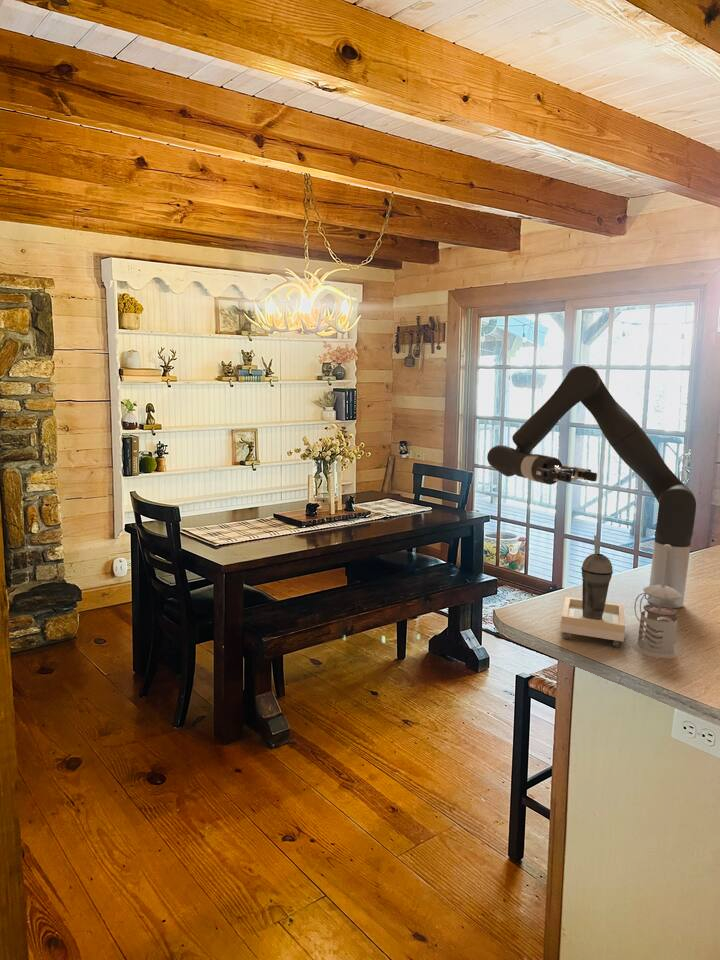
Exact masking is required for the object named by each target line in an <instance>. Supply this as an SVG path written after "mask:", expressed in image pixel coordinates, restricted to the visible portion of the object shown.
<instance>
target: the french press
mask: <svg viewBox="0 0 720 960" xmlns="http://www.w3.org/2000/svg"><path fill="white" fill-rule="evenodd" d="M663 549H664V550H667V551H668V550H672V547H671V546H670V545H668V544H665V545H664V546H663ZM667 551H666V559H665V568H666V560H667ZM665 568H664V576H663V585H651V586H649V585H648V586H646V587H644V588H643V589H642V591H643V592H642V593H640V594H639V595H637V597H636V598H635V602H634V607H633V608H634V614H635V617H636V619H637V620H638V622H639V629H638V630H639V631H638V637H637V638H638V639H637V641H636V642H634V643H633V645H632V647H633V650H635V651H636V652H638V653H640V654H642V655H645V656H648V657H652V658H657V659H673V658H674V659H675V658H677V657H678V656H679V652H678V651H677V650H676V649H675V644H676V641H675V640H676V635H677V628H678V622H679V621H678V620H679V618H678V617H677V616H676V615H677V614H678V612H677V610H676V609H675V608H670V607H666V606H663V605H662V606H661V602H662V599H665V600H677V599H680V597H681V596H682V595H681V594H680V593H679V592H677V591H676V590H675V589H673V588H671V587H668V586H665V585H664V577H665ZM648 595H649V596H650V598H651V596H652V597H655V598H659V599H661V601H660V605H655V604H652V603H649V604H644V606H642V601H643V599H645V600H647V601H648V599H650V598H648V597H647V596H648ZM640 596H642V597H641V598H640V600H639V601H640V603H639V610H640V611H639V612H640V618H639V617H638V615H637V611H636V606H637V601H638V599H639V597H640ZM642 608H643V611H642ZM646 612H647V615H646ZM661 617H662V618H668V619H670V620H671V621H670V620H668V619H658V618H661ZM644 629H645V630H644Z"/></svg>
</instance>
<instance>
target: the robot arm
mask: <svg viewBox="0 0 720 960" xmlns="http://www.w3.org/2000/svg"><path fill="white" fill-rule="evenodd" d="M579 403H581V404H582V405H583V406H584V407H585V408H586V409H587V410H588V412H590V414H591V415H592V417H593V419H595V421H596V423H597V425H598V427H599V428H600V431H601V432H602V434H603V436H604V438H605V439H606V440H607V442H608V444H609V445H610V446H611V447H612V449H613V450H614V451H615V453H616V454H617V455H618V456H619V458H620V459H621V460H622V461H623V462H624V463H625V464H626V465H627V466H628V467H629V468H630V469H631V470H632V471H633V472H634V473H635V474H637V476H639V477H640V478H641V479H642V480H643V482H644V483H645V484H646V485H647V487H648V488H649V489H650V492H652V494H653V496H654V498H655V500H656V501H657V503H658V508H657V518H656V526H655V532H654V542H653V551H652V560H651V567H650V568H651V570H650V577H649V585H648V586H651V585H663V576H664V568H665V559H666V551H667V550H664V549H663V546H664V545H665V544H668V545H670V546H671V547H672V550H668V551H667V560H666V568H665V577H664V585H665V586H668V587H671V588H673V589H675V590H676V591H677V592H679V593H680V594H681V595H682V596H681V597H680V599H677V600H665V599H662V602H661V606H662V605H663V606H666V607H670V608H672V609H678V608H682V607H684V602H685V595H686V594H685V593H686V587H687V586H686V585H687V578H688V569H689V561H690V552H691V545H692V538H693V534H694V526H695V519H696V512H697V511H696V510H697V499H696V496H695V495H694V493H693V491H692V490H691V489H690V488H689V487H687V485H686V484H684V482H682V481H681V480H680V478H678V476H677V475H676V474H674V472H673V471H672V470H671V469H670V468H669V466H668V465H667V464H666V463H665V461H664V459H663V457H662V455H661V453H660V452H659V451H658V449H657V447H656V446H655V444H654V443H653V442H652V440H651V438H649V436H648V434H646V432H645V431H644V429H643V428H642V427H641V426H640V425H639V423H638V422H637V421H636V420H635V419H634V418H633V417H632V416H631V414H629V412H627V411H626V410H625V409H624V408H623V407H622V406H621V405H620V403H618V402H617V401H616V399H615V398H614V397H613V396H612V394H611V393H610V391H609V390H608V388H607V387H606V385H605V383H604V382H603V380H602V379H601V376H600V374H599V373H598V371H597V370H596V369H595V368H594V367H593V366H590V365H586V364H578V365H575V366H574V367H572V368H571V369H569V370H568V372H567V373H566V376H565V377H564V378H563V380H562V382H561V383H560V385H559V386H558V387H557V389H556V390H555V391H554V392H553V394H552V395H551V396H550V397H549V398H548V399H547V401H546V402H544V403H543V405H542V406H541V407H539V409H537V411H535V412H534V413H533V415H531V416H530V417H529V418H528V419H527V420H526V421H525V422H524V423H523V424H522V425H521V426H520V427H519V428H518V429H517V430H516V431H515V433H514V434H513V435H512V438H511V439H512V442H513V443H514V444H515V446H516V448H513V447H510V446H507V445H503V444H499V445H495V446H493V447H491V448H490V449H489V451H488V452H487V455H486V456H487V457H486V460H487V462H488V464H489V466H491V467H492V468H493V469H495V470H496V471H497V472H499V473H500V474H502V475H503V476H505V477H507V478H508V477H513V476H517V477H520V478H524V479H528V480H531V481H532V482H536V483H540V484H545V485H550V486H551V485H554V484H556V483H557V482H559V481H561V482H564V483H571V482H572V481H578V480H583V481H590V482H597V479H598V473H597V472H593V471H592V469H591V468H582V467H577V466H569V465H566V464H562V462H561V460H560V459H558V458H557V457H554V456H549V455H543V454H540V453H539V454H538V453H535V454H534V453H533V454H532V451H533V450H534V448H536V447H537V446H538V444H540V443H541V442H542V441H543V439H545V438H546V437H547V435H548V434H549V433H551V431H552V430H553V428H554V427H555V426H556V425H557V423H558V422H559V421H560V420H561V419H562V418H563V417H564V416H565V415H566V414H567V413H568V412H569V411H570V410H571V409H573V407H575V406H576V405H577V404H579ZM647 598H650V596H649V595H647ZM660 601H661V599H659V598H655V597H652V596H651V598H650V599H647V602H649V604H654V605H660Z"/></svg>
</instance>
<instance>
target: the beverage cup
mask: <svg viewBox="0 0 720 960" xmlns="http://www.w3.org/2000/svg"><path fill="white" fill-rule="evenodd" d="M593 540H594V542H593V543H594V544H593V545H594V553H592V554H589V555H588V556H587V557H586V558H585V559H584V560H583V562H582V566H581V569H580V570H581V577H582V593H581V595H582V598H581V599H582V609H583V617H585V618H588V619H595V620H600V619H602V615H603V612H604V607H605V602H606V601H607V595H608V590H609V586H610V582H611V579H612V576H613V573H614V572H613V571H614V570H613V564H612V562H611V560H610V559H609V557H607V556H606V555H604V554H602V553H597V552H598V551H597V550H598V549H597V548H598V547H597V543H598V542H597V535H593ZM606 603H607V602H606Z"/></svg>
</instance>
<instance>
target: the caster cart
mask: <svg viewBox="0 0 720 960" xmlns="http://www.w3.org/2000/svg"><path fill="white" fill-rule="evenodd" d="M562 608H563V609H562V613H561V621H560V630H559V631H560V632H561V633H563V639H564V640H565V639H566V640H570V635H571V634H574V635H580V636H586V637H591V638H599V639H603V640H604V639H605V640H611V641H613V642H612V647H615V648H619V646H620V642H624V640H625V633H626V631H625V630H626V616H625V605H624V604H621V603H619V604H618V603H612V602H605V607H604V612H603V615H602V619H600V620H595V619H588V618H585V617H583V609H582V598H577V597H570V596H565V598H564V603H563V607H562Z"/></svg>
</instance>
